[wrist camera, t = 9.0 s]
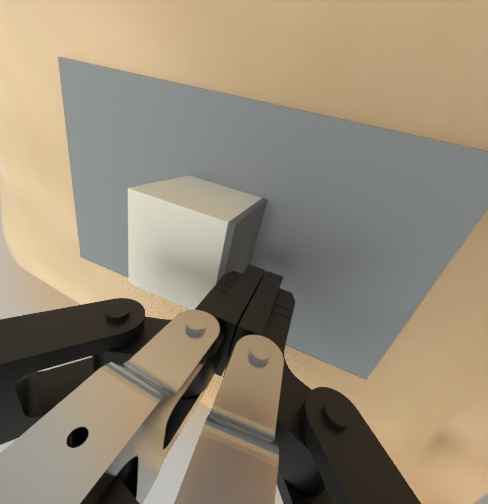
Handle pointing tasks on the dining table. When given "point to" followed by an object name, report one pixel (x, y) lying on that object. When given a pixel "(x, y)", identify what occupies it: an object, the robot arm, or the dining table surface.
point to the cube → (189, 236)
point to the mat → (282, 197)
